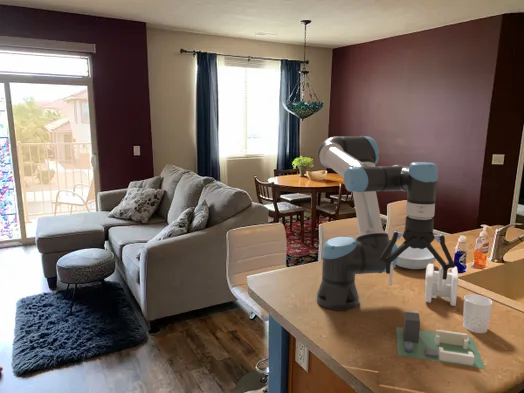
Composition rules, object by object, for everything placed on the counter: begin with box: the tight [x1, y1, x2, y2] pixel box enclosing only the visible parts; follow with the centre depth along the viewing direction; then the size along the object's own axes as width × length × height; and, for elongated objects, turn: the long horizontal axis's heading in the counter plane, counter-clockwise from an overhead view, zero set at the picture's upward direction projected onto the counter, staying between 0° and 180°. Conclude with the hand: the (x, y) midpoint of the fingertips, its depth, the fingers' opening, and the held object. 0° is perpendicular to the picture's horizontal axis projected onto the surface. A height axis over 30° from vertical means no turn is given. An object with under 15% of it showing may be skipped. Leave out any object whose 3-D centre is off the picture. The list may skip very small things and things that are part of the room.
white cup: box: [462, 293, 493, 334], centre depth 125 cm, size 8×8×10 cm
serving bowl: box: [396, 244, 437, 270], centre depth 180 cm, size 21×21×7 cm
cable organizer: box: [424, 263, 459, 307], centre depth 146 cm, size 15×11×12 cm
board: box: [395, 326, 486, 370], centre depth 115 cm, size 22×16×3 cm
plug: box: [402, 309, 421, 343], centre depth 119 cm, size 4×6×7 cm, turn 163°
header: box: [434, 329, 474, 365], centre depth 112 cm, size 8×11×4 cm
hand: (414, 286), depth 117 cm, fingers open, 13 cm apart
